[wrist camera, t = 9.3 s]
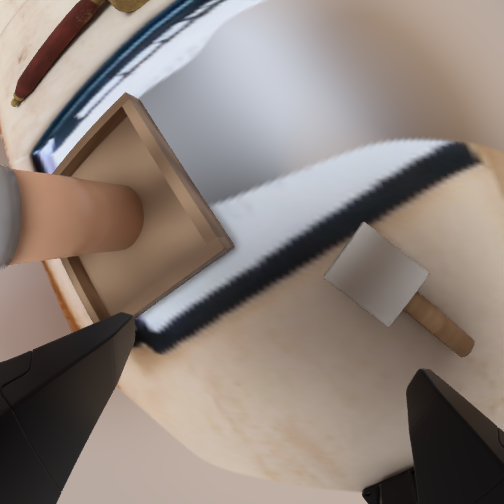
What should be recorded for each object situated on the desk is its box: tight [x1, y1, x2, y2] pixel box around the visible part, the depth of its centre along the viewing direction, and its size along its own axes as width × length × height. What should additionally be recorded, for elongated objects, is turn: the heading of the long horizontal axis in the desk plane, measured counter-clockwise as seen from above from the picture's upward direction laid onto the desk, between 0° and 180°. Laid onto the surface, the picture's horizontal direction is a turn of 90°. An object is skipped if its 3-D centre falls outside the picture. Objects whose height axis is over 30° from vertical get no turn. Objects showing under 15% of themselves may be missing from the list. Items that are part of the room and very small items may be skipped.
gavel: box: [11, 0, 149, 107], centre depth 23 cm, size 21×5×10 cm
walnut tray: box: [52, 92, 235, 324], centre depth 23 cm, size 14×13×2 cm
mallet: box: [324, 222, 474, 357], centre depth 18 cm, size 11×4×2 cm, turn 55°
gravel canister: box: [0, 164, 144, 270], centre depth 17 cm, size 5×5×12 cm
